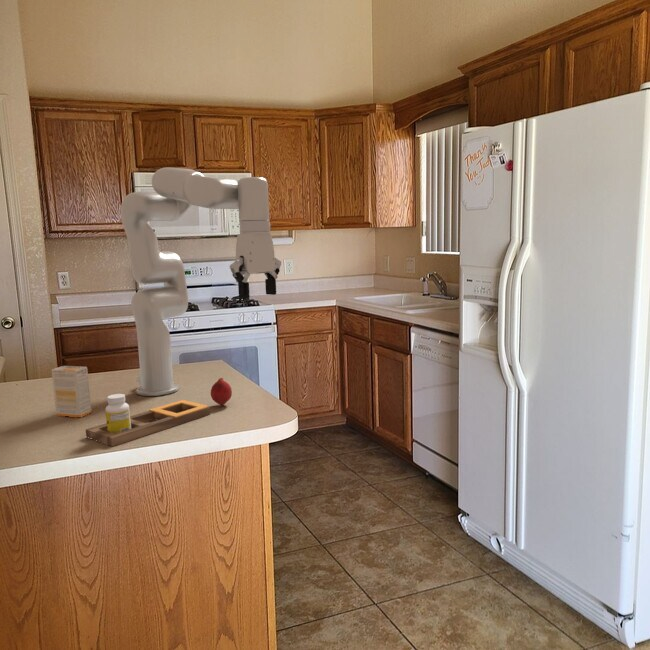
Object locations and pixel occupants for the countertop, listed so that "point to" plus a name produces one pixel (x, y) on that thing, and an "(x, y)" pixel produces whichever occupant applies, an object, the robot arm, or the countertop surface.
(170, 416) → the socket rail
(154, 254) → the robot arm
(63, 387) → the supplement box
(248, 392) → the countertop surface
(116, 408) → the supplement bottle
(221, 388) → the onion
